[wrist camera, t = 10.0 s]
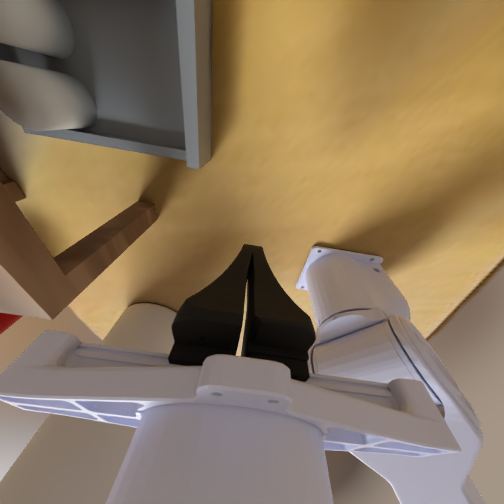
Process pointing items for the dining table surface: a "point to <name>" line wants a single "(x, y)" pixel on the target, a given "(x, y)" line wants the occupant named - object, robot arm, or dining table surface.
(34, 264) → the wooden side table
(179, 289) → the dining table surface
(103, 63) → the tray
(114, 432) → the cylinder vase
